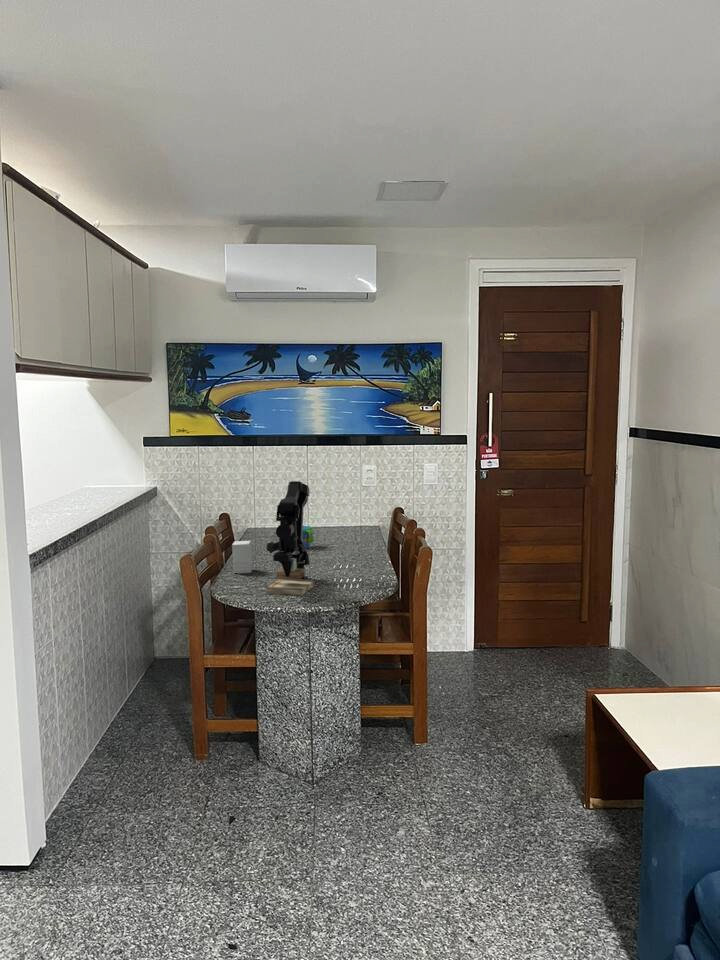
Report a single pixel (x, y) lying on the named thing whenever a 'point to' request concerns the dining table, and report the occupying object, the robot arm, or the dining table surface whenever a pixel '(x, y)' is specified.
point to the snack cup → (307, 536)
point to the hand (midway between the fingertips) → (290, 574)
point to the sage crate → (294, 565)
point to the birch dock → (290, 587)
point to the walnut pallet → (290, 574)
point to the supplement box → (242, 556)
